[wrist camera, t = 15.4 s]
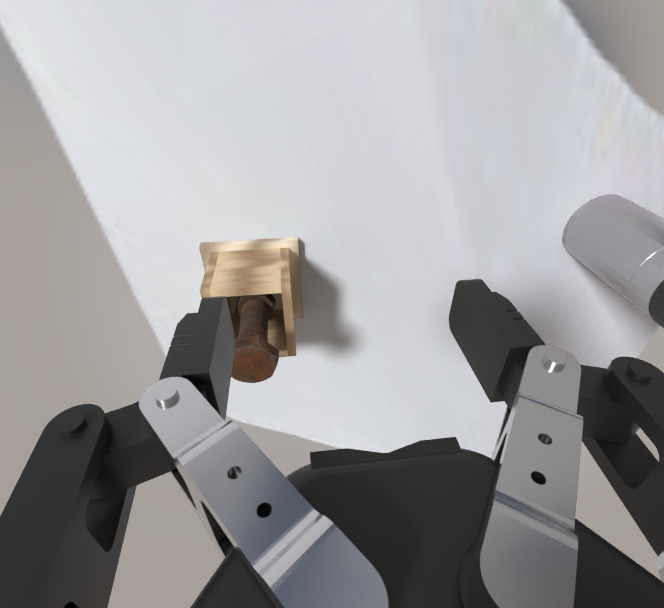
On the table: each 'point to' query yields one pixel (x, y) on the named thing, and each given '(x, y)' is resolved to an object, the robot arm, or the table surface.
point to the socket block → (257, 282)
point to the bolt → (254, 340)
